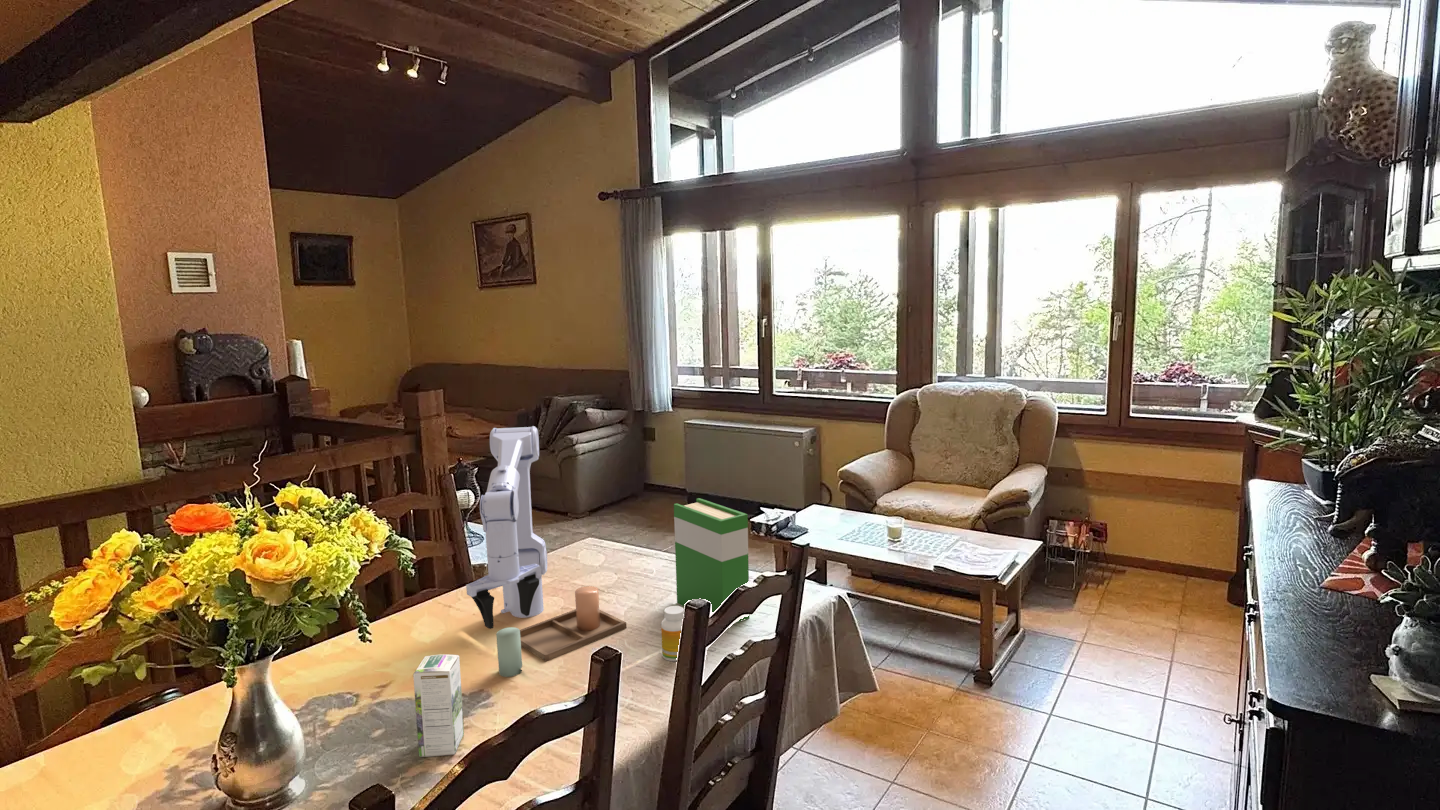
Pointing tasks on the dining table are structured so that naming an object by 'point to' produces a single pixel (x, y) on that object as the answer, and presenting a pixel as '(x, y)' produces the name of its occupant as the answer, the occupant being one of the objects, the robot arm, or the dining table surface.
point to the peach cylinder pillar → (587, 608)
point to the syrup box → (438, 705)
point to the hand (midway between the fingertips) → (507, 620)
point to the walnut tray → (565, 634)
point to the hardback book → (710, 551)
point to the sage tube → (509, 651)
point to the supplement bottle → (671, 631)
